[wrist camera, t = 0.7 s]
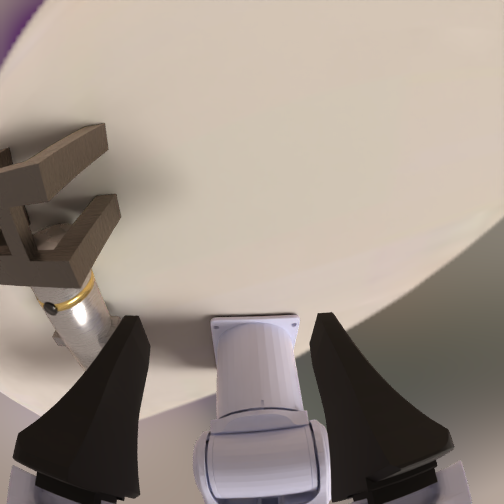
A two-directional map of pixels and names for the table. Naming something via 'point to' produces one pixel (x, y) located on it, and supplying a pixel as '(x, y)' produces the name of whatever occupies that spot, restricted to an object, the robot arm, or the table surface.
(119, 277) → the table surface
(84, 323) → the grey metal cylinder
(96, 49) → the table surface
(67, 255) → the brown bracket plates
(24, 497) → the robot arm
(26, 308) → the table surface
